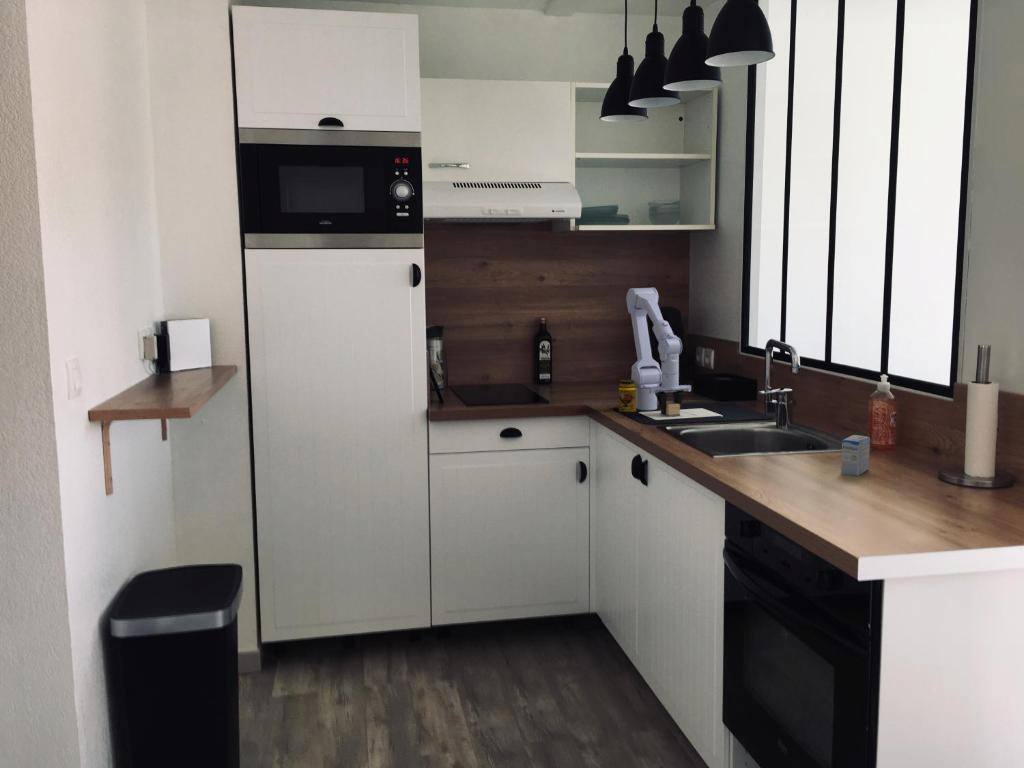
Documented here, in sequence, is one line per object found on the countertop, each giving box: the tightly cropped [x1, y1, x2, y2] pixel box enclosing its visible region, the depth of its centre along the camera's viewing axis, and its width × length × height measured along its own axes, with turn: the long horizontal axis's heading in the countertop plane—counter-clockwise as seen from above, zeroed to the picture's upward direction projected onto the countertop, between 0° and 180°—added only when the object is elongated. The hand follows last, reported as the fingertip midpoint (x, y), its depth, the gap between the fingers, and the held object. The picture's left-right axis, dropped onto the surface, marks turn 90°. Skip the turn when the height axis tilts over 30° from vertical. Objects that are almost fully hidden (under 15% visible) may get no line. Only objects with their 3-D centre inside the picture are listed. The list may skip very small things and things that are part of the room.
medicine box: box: [840, 434, 871, 477], centre depth 223 cm, size 8×4×9 cm, turn 141°
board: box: [638, 408, 724, 421], centre depth 306 cm, size 16×24×1 cm, turn 103°
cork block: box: [661, 401, 681, 417], centre depth 304 cm, size 7×4×4 cm, turn 14°
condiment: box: [618, 379, 637, 413], centre depth 316 cm, size 7×8×12 cm
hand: (670, 413), depth 304 cm, fingers closed on cork block, 4 cm apart
